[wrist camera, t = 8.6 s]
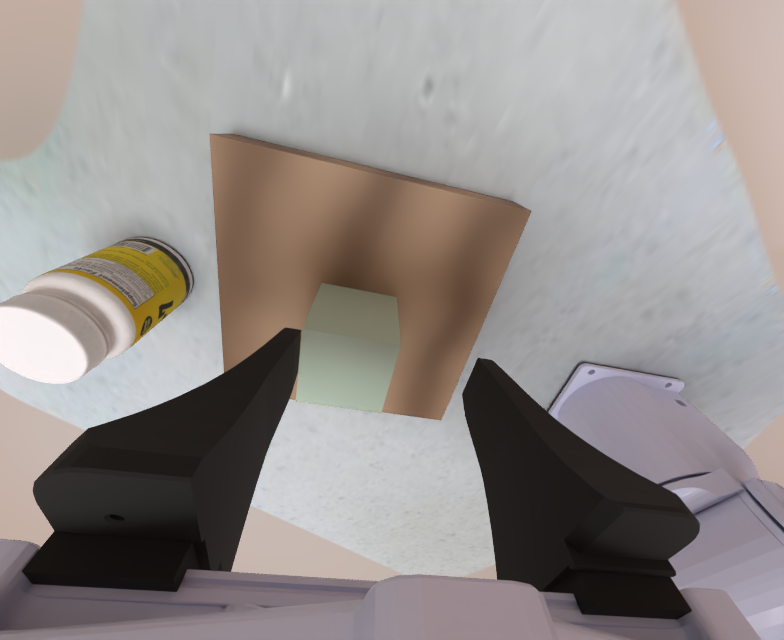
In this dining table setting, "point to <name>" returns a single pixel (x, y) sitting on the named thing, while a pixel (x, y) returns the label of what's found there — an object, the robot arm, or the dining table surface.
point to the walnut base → (357, 257)
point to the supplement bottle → (91, 309)
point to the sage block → (348, 349)
